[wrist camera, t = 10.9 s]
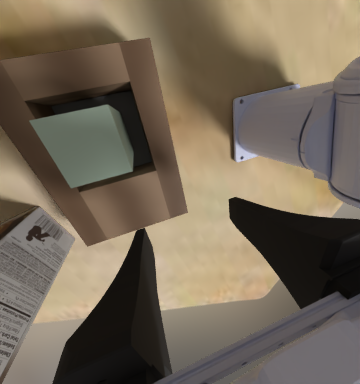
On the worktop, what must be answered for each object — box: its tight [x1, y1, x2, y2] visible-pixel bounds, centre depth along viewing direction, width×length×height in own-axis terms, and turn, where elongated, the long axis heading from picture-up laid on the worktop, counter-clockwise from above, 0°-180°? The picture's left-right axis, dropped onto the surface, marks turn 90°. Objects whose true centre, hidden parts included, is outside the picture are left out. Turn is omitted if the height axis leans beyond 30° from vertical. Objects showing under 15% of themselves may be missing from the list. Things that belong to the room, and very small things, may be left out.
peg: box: [29, 105, 134, 188], centre depth 12 cm, size 4×4×8 cm
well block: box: [0, 38, 188, 247], centre depth 15 cm, size 12×16×4 cm
